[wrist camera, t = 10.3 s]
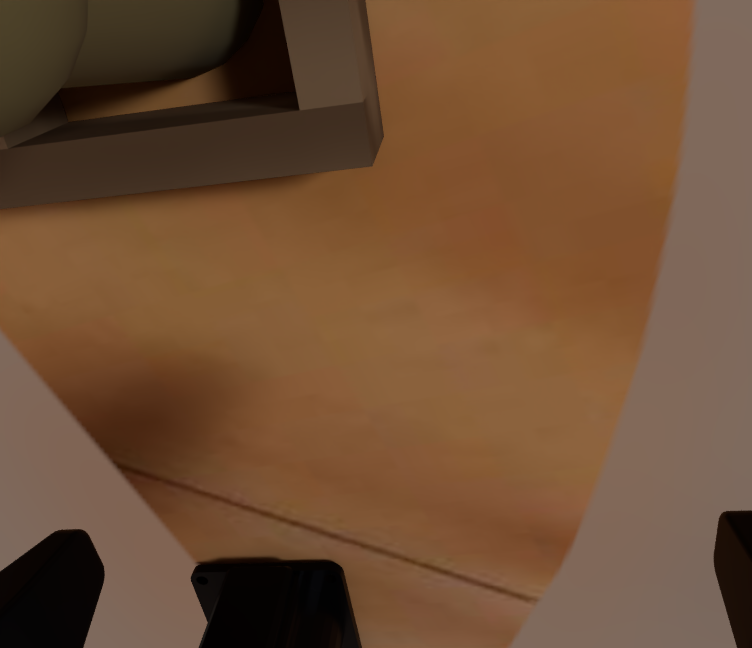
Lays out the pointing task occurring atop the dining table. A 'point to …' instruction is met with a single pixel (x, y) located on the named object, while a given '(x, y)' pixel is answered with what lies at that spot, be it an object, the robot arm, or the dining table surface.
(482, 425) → the dining table surface
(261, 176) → the hole block
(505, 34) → the dining table surface
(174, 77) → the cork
